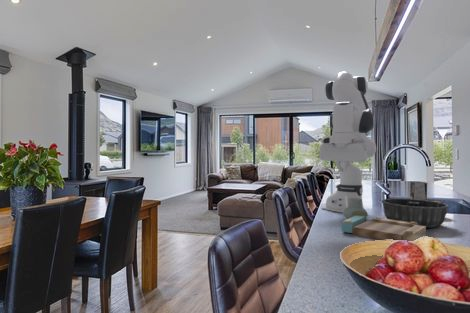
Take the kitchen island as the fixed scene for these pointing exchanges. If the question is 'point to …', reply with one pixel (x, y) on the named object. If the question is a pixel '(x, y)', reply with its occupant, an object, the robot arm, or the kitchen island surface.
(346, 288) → the kitchen island surface
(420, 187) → the coffee box
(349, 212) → the air freshener
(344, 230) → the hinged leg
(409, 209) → the bundt pan
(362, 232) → the tan box with knobs
